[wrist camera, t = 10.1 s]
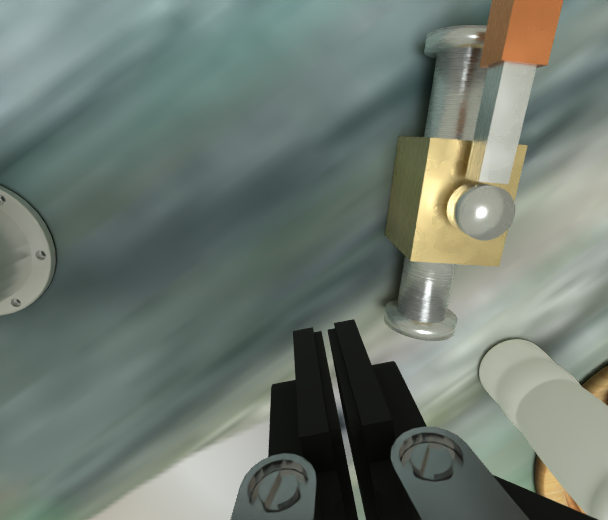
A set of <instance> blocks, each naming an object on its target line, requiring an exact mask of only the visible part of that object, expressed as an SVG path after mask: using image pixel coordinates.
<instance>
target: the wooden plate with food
mask: <svg viewBox="0 0 608 520" xmlns="http://www.w3.org/2000/svg"><path fill="white" fill-rule="evenodd" d="M581 386H582V387H583V388H584V389H586V390H587V391H589V392H590V393H592V394H593V395H594V396H596V397H597V398H598V399H600V400H601V401H602V402H603V403H605V404H606V405H607V406H608V365H607V366H606V367H604V368H603V369H601V370H600V371H598V372H597V373H596V374H594V375H593V376H592V377H591V378H590V379H588V380H587V381H586V382H585V383H584V384H582V385H581ZM535 487H536V492H537V494H539V495H541V496H544V497H546V498H548V499H551V500H553V501H556V502H558V503H560V504H563V505H565V506H567V507H570V508H572V509H574V510H577V511H579V512H582V513H584V514H586V513H585V512H584V511H583V510H582V509H581V508H580V506H579V505H578V504H577V503H576V502H575V501H574V500H573V499H572V497H571V496H570V495H569V494H568V493H567V492H566V490H565V489H564V488H563V487H562V485H561V484H560V483H559V482H558V481H557V479H556V478H555V477H554V476H553V474H552V473H551V472H550V471H549V469H548V468H547V467H546V465H545V464H544V463H543V462H542V460H541V459H540V458H539V456H538V455H537V460H536V466H535ZM586 515H587V514H586Z"/></svg>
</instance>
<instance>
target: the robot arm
mask: <svg viewBox="0 0 608 520" xmlns="http://www.w3.org/2000/svg"><path fill="white" fill-rule="evenodd" d="M55 264H56V257H55V248H54V244H53V240H52V237H51V235H50V233H49V230H48V228H47V226H46V224H45V223H44V221H43V220H42V219H41V217H40V216H39V214H38V213H37V212H36V211H35V210H34V209H33V208H32V207H31V206H30V205H29V204H28V203H27V202H26V201H25V200H24V199H22V198H21V197H19V196H18V195H17V194H15V193H14V192H12V191H10V190H8V189H6V188H5V187H3V186H1V185H0V316H2V315H6V314H11V313H14V312H17V311H19V310H21V309H24V308H26V307H27V306H29V305H30V304H32V303H33V302H35V301H36V300H37V299H38V298H39V297H40V296H41V295H42V294H43V293H44V292H45V291H46V289H47V288H48V286H49V285H50V283H51V280H52V278H53V275H54V271H55ZM334 325H335V328H334V329H329V330H328V335H329V340H330V345H331V351H332V356H333V361H334V367H335V372H336V377H337V383H338V388H339V393H340V399H341V404H342V409H343V414H344V419H345V424H346V429H347V433H348V438H349V443H350V447H351V452H352V457H353V461H354V466H355V470H356V475H357V480H358V484H359V489H360V494H361V498H362V503H363V507H364V512H365V517H366V520H598V519H596V518H593V517H591V516H589V515H586V514H584V513H582V512H579V511H577V510H574V509H572V508H570V507H567V506H565V505H563V504H560V503H558V502H556V501H553V500H551V499H548V498H546V497H544V496H541V495H539V494H537V493H534V492H532V491H530V490H527V489H525V488H522V487H520V486H518V485H515V484H513V483H511V482H508V481H506V480H504V479H501V478H499V477H496V476H494V475H492V474H491V473H490V471H489V470H488V469H487V468H486V466H485V465H484V464H483V463H482V462H481V460H480V459H479V458H478V457H477V455H476V454H475V453H474V452H473V451H472V449H471V448H470V447H469V446H468V445H467V443H466V442H464V441H463V440H462V439H461V438H460V437H459V436H458V435H456V434H454V433H452V432H450V431H448V430H445V429H441V428H437V427H427V426H426V424H425V422H424V420H423V418H422V416H421V414H420V412H419V410H418V408H417V405H416V403H415V401H414V399H413V397H412V395H411V393H410V391H409V389H408V387H407V385H406V383H405V381H404V379H403V377H402V375H401V373H400V371H399V369H398V367H397V365H396V363H395V362H394V361H391V362H386V363H381V364H376V365H371V362H370V360H369V357H368V355H367V352H366V349H365V347H364V344H363V341H362V339H361V336H360V334H359V331H358V328H357V326H356V323H355V321H354V319H353V320H348V321H343V322H338V323H334ZM293 340H294V358H295V377H296V380H292V381H287V382H282V383H277V384H273V385H272V388H271V408H270V433H269V456H268V458H266V459H263V460H261V461H260V462H259V463H257V464H256V465H255V466H253V467H252V468H251V469H250V470H249V472H248V473H247V474H246V475H245V477H244V479H243V481H242V483H241V485H240V488H239V492H238V495H237V499H236V502H235V506H234V509H233V513H232V517H231V520H358V516H357V511H356V506H355V501H354V496H353V491H352V486H351V480H350V475H349V470H348V465H347V460H346V455H345V449H344V445H343V439H342V434H341V429H340V424H339V419H338V414H337V408H336V403H335V398H334V393H333V388H332V383H331V378H330V373H329V368H328V363H327V357H326V352H325V347H324V342H323V337H322V332H321V331H319V332H314V331H313V327H312V328H307V329H301V330H296V331H293Z"/></svg>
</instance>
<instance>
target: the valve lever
mask: <svg viewBox="0 0 608 520" xmlns="http://www.w3.org/2000/svg"><path fill="white" fill-rule="evenodd" d="M562 3H563V0H492V4H491V9H490V14H489V19H488V25H487V30H486V35H485V40H484V45H483V50H482V55H481V60H480V65H479V67H480V68H488V69H487V74H486V79H485V84H484V89H483V94H482V98H481V103H480V108H479V113H478V118H477V123H476V128H475V133H474V137H473V142H472V147H471V152H470V157H469V162H468V167H467V172H466V176H465V178H466V179H470V180H474V181H478V182H470V183H466V184H464V185H462V186H460V187H459V188H457V189H456V190H455V191H454V192H453V194H452V195H451V197H450V199H449V201H448V204H447V216H448V219H449V221H450V223H451V224H452V226H453V227H455V228H456V229H458V230H459V231H461V232H463V233H465V234H467V235H468V236H470V237H472V238H474V239H477V240H481V241H486V240H492V239H495V238H497V237H499V236H500V235H502V234H503V233H504V232H505V231H506V230H507V229H508V228H509V227H510V225H511V224H512V221H513V219H514V216H515V203H514V200H513V198H512V196H511V195H510V194H509V193H508V192H507V191H506V190H504V189H502V188H500V187H496V186H492V185H488V184H484V183H481V182H489V183H501V184H509V180H510V176H511V171H512V167H513V163H514V159H515V155H516V150H517V146H518V142H519V138H520V134H521V129H522V125H523V121H524V117H525V113H526V108H527V104H528V100H529V96H530V92H531V87H532V83H533V79H534V75H535V71H536V68H538V67H542V66H546V65H548V60H549V56H550V52H551V48H552V44H553V40H554V36H555V32H556V28H557V24H558V20H559V16H560V12H561V7H562Z"/></svg>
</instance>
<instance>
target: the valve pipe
mask: <svg viewBox="0 0 608 520" xmlns="http://www.w3.org/2000/svg"><path fill="white" fill-rule="evenodd" d="M486 30H487V25H460V26H450V27H444V28H439V29H436V30H433V31H431V32H429V33H428V34H427V37H426V44H425V50H424V54H425V55H426V56H428V57H431V58H434V59H436V65H435V72H434V78H433V84H432V90H431V97H430V103H429V109H428V115H427V122H426V128H425V134H424V137H407V136H399V137H398V144H397V151H396V158H395V166H394V173H393V180H392V187H391V194H390V201H389V208H388V215H387V222H386V229H385V236H386V237H387V238H388V239H389V240H390V241H391V242H392V243H393V244H394V245H395V246H396V247H397V248H398V249H399V250H400V251H401V252H402V253H403V254H404V255H405V259H404V266H403V272H402V278H401V284H400V291H399V297H398V299H395V300H392V301H390V302H388V303H387V305H386V309H385V316H384V321H385V323H386V324H387V325H388V326H389V327H390V328H391V329H393V330H394V331H396V332H398V333H400V334H402V335H405V336H408V337H411V338H415V339H420V340H427V341H440V340H445V339H448V338H450V337H452V336H453V335H454V333H455V328H456V323H457V317H456V315H455V314H454V313H453V312H452V311H450V310H449V309H447V308H448V303H449V298H450V293H451V288H452V283H453V278H454V273H455V268H456V264H466V265H483V266H499V264H500V260H501V256H502V252H503V247H504V243H505V239H506V235H507V230H508V229H507V230H506V231H505V232H504V233H503V234H502V235H500V236H499V237H497V238H495V239H492V240H486V241H481V240H477V239H474V238H472V237H470V236H468V235H467V234H465V233H463V232H461V231H459V230H458V229H456V228H455V227H453V226H452V224H451V223H450V221H449V219H448V216H447V204H448V201H449V199H450V197H451V195H452V194H453V192H454V191H455V190H456V189H457V188H459V187H460V186H462V185H464V184H466V183H470V182H478V181H474V180H470V179H466V178H465V176H466V172H467V167H468V162H469V157H470V152H471V147H472V142H473V137H474V133H475V128H476V123H477V118H478V113H479V108H480V103H481V98H482V94H483V89H484V84H485V79H486V74H487V69H488V68H480V67H479V65H480V60H481V55H482V50H483V45H484V40H485V35H486ZM527 146H528V145H518V146H517V150H516V155H515V159H514V163H513V167H512V171H511V176H510V180H509V184H501V183H489V182H481V183H484V184H488V185H492V186H496V187H500V188H502V189H504V190H506V191H507V192H508V193H509V194H510V195H511V196H512V198H513V200H514V201H515V196H516V192H517V188H518V184H519V180H520V175H521V171H522V167H523V163H524V158H525V154H526V150H527Z"/></svg>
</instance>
